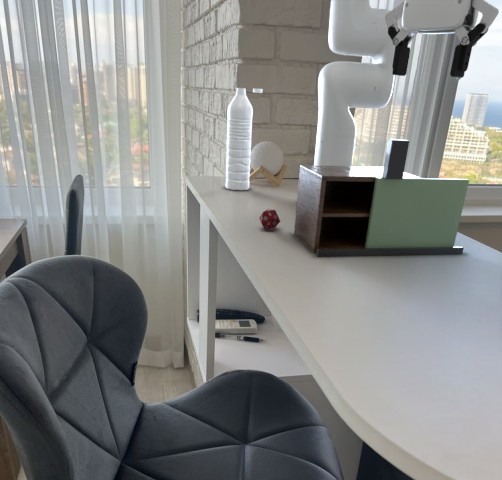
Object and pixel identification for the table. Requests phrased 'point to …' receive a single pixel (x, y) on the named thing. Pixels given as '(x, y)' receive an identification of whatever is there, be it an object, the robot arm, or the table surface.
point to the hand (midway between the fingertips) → (426, 76)
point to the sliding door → (413, 206)
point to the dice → (269, 219)
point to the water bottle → (239, 141)
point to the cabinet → (343, 212)
